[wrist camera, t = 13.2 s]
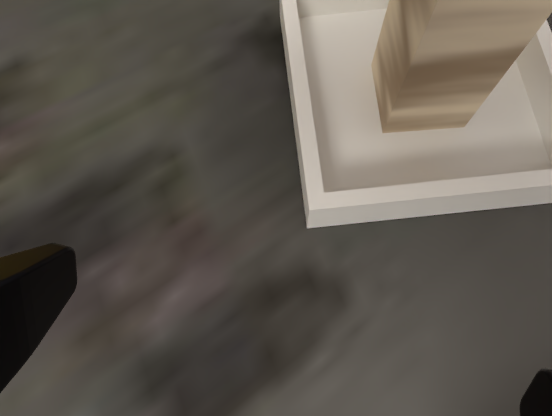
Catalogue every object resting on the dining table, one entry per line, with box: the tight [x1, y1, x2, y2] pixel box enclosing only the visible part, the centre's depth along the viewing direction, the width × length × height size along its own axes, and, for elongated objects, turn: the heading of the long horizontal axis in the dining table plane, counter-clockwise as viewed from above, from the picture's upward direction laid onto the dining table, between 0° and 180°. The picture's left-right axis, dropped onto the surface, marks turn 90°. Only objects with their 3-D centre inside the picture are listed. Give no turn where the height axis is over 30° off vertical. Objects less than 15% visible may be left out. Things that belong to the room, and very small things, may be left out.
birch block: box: [371, 0, 552, 133], centre depth 18 cm, size 5×5×13 cm
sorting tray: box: [280, 0, 552, 228], centre depth 24 cm, size 14×14×3 cm
